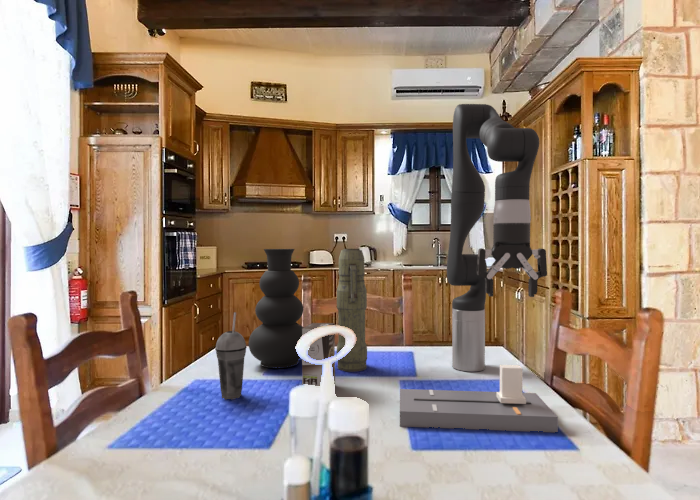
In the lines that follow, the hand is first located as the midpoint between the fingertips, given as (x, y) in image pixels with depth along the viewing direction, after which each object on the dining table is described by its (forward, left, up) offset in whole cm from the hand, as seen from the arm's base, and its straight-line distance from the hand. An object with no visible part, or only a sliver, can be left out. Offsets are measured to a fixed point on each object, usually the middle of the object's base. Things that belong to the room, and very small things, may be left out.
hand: (510, 296), depth 98 cm
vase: (-31, -60, -25) cm, 72 cm away
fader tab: (+5, -1, -21) cm, 22 cm away
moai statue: (-30, -38, -25) cm, 55 cm away
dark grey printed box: (-9, -44, -25) cm, 52 cm away
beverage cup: (-2, -64, -25) cm, 69 cm away
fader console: (+5, -9, -25) cm, 27 cm away
